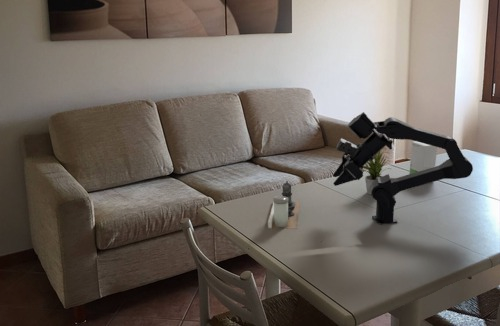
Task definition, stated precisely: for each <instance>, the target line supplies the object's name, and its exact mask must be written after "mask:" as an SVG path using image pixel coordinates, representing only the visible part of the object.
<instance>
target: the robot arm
mask: <svg viewBox="0 0 500 326" xmlns="http://www.w3.org/2000/svg"><path fill="white" fill-rule="evenodd" d="M347 128H348V129H349V130H350V131H351V132H352V133H353V134H354V135H355V136H356V137H357V138H359V140H360V139H364V140H363V142H362V143H361V142H360V143H359V142H358V143H357V144H354V143H352V142H351V141H349V140H346V139H344V138H340V139H339V141H338V143H337V145H336V150H337V151H339V152H342V155H341V162H340V164H339V165H338V167H337V168H336V170H335V171H334V172H333V174H332V176H333V177H334V178H336V179H335V180H334V181H333V185H334V186H335V187H337V186H340V185H343V184H347V183H350V182H352V181H359V180H361V178H363V177H364V172H363V170H364V169H365V168H364V166H366V165H365V164H368V163H367V162H369V160H371V161H372V160H373V161H374V160H375V157H376V155H377V153H378V154H379V152H380V151H382V150H383V149H384V148H386V147H387V148H388V149H389V150H390V151H391V150H393V140H400V141H401V140H403V141H404V140H407V141H410V140H411V141H412V142H414V141H417V142H421V143H424V144H428V145H431V146H435V147H437V148H439V149H442V150H445V152H446V155H447V157H448V159H446V160H445V161H443V162H442V163H440V164H439V165H437V166H436V165H435V167H433V168H429V169H426V170H422V171H419V172H416V173H412V174H409V173H408V174H406V175H403V176H399V177H391V176H390V174H389V173H388V174H385V175H382V176H383V177H377V179H376V180H374V181H373V182H372V183H371V186H370V189H371V194H372V195H371V196H372V199H374V200H375V201H376V206H375V207H376V208H375V210H376V211H375V215H372V216H371V218H372V219H373V220H374V221H375V222H376V223H377V224H379V225H384V224H386V225H387V224H394V223H395V224H397V223H398V220H397V219H396V218H395V217H394V215H395V213H394V212H395V206H396V203H397V201H396V197H395V196H396V195H398V194H399V193H401V192H403V191H406V190H409V189H412V188H414V189H415V188H417V187H421V186H424V185H427V184H430V183H431V184H432V183H434V182H437V181H441V180H457V179H465V178H468V177H470V176H471V174H472V173H473V171H474V167H473V164H472V163H471V162H470V160H469V159H467V158H466V157H465V156H464V154H463V152H462V151H461V149H460V147H459V145H458V142H457V141H456V139H455V138H454V137H452V136H450V135H449V136H447V135H445V134H440V133H436V132H432V131H428V130H425V129H423V128H422V129H421V128H417V127H415V126H413V125H410V124H407V123H406V122H404V121H402V120H399V119H397V118H396V117H388V118H386V119H385V120H382V121H372V120H371V118H370V117H368V115H367V114H366V113H365V112H361V113H360V114H359V115H357V116H356V117H354V118H353V119H352V120H350V122H349V123H348V124H347Z"/></svg>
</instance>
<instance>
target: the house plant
mask: <svg viewBox="0 0 500 326" xmlns="http://www.w3.org/2000/svg"><path fill="white" fill-rule="evenodd" d="M385 155H386V154H384V150H383V151H381V152H380V153H379V152H378V153H377V154H376V155H375V156H374V159H373V160H372V161H371V160H369V161H368V162H367V163H366V164H365V165H364V168H363V169H362V170H363V173H364V172H366V173H367V174H368V175H365V177H364V179H365V186H366V194H367V195H370V196H372V194H371V189H370V186H371V183H372V182H373V181H374V180H376V179H377V177H383V176H384V175H383V173H382V172H384V171H386V170H392V168H390V167H389V168H385V169H383V167H384V166H385V165H386V164H387V163H388V161H390V160H389V159H388V160H387V156H386V157H385Z"/></svg>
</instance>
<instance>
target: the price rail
mask: <svg viewBox="0 0 500 326" xmlns="http://www.w3.org/2000/svg"><path fill="white" fill-rule="evenodd" d="M277 196H278V195H277ZM277 196H274V197H277ZM272 203H273V204H272V206H271V210H270V214H269V216H268V220H267V229H273V228H272V224H273V220H274V202H272Z"/></svg>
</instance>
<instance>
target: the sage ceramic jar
mask: <svg viewBox="0 0 500 326" xmlns="http://www.w3.org/2000/svg"><path fill="white" fill-rule="evenodd" d="M272 203H274V226H276V227H287V226H288V197H285V196H283V195H277V197H275V196H274V197H273V202H272Z"/></svg>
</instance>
